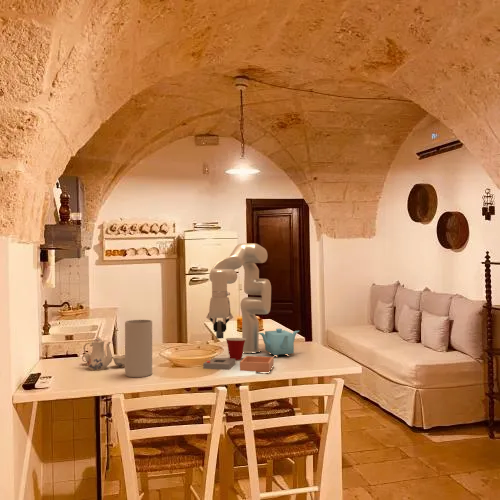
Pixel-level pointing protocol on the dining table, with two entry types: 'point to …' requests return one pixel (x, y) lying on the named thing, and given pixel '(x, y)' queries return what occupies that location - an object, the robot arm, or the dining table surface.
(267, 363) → the bin
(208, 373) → the dining table surface
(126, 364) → the cylinder vase
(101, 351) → the chinaware
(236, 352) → the plastic cup
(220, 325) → the battery cell
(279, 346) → the teakettle
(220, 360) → the block
